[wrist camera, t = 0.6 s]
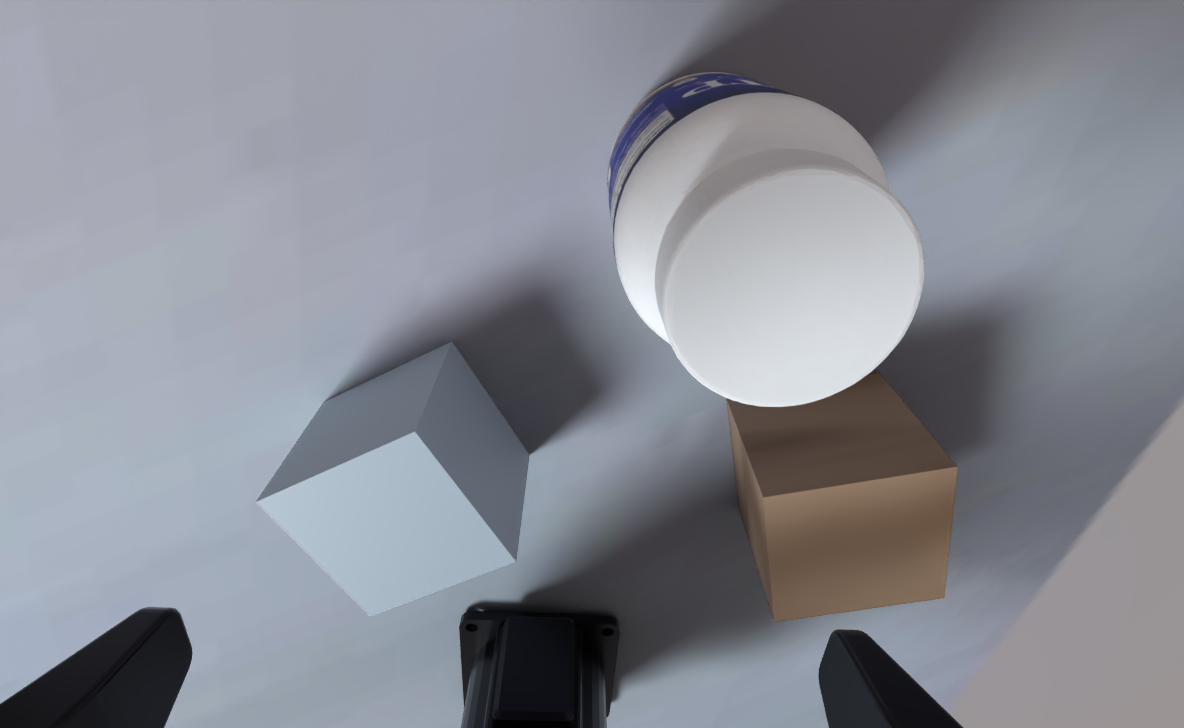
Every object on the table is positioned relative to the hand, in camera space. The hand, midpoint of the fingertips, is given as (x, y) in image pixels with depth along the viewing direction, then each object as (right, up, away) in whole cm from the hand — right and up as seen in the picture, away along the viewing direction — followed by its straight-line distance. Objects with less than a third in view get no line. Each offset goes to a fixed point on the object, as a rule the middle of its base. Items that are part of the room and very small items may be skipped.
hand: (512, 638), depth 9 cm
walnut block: (+9, +1, +13) cm, 16 cm away
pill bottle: (+4, +9, +9) cm, 13 cm away
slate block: (-4, +2, +13) cm, 14 cm away
